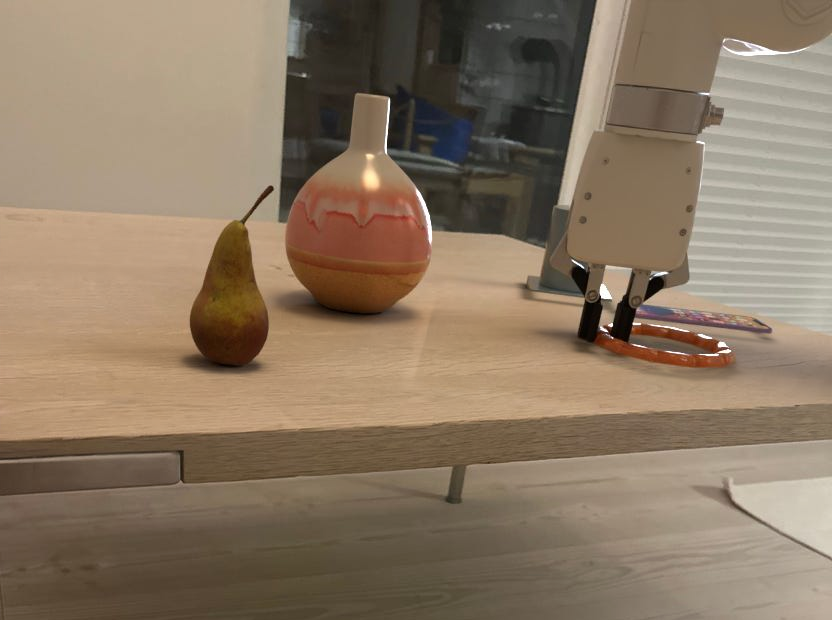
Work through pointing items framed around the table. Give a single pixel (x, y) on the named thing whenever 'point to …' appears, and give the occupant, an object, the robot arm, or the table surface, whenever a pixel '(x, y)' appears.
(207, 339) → the fruit
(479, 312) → the table surface
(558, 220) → the cylinder on square base
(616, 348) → the ring
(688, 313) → the smartphone
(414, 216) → the vase
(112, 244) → the table surface
